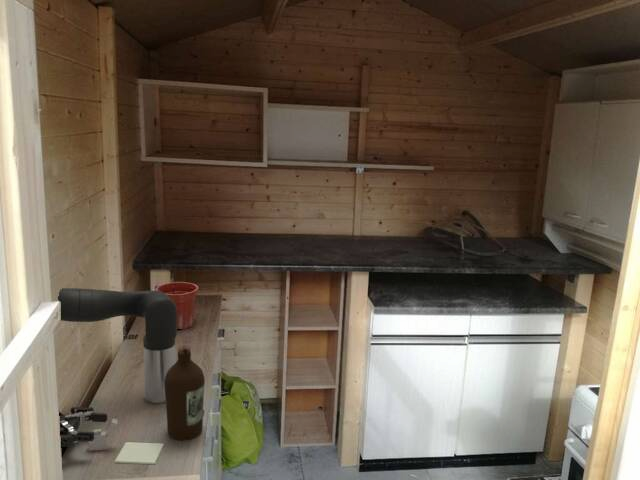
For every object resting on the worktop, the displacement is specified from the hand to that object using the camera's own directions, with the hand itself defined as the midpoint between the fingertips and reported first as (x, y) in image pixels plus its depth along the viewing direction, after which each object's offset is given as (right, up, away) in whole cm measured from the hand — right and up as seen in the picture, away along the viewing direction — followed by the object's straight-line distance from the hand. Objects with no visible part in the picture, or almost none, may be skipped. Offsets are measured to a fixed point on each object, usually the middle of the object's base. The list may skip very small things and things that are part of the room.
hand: (100, 426), depth 139 cm
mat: (+10, -7, 0) cm, 12 cm away
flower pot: (-2, +13, +83) cm, 84 cm away
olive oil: (+19, -5, +10) cm, 23 cm away
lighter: (0, -6, +1) cm, 6 cm away
